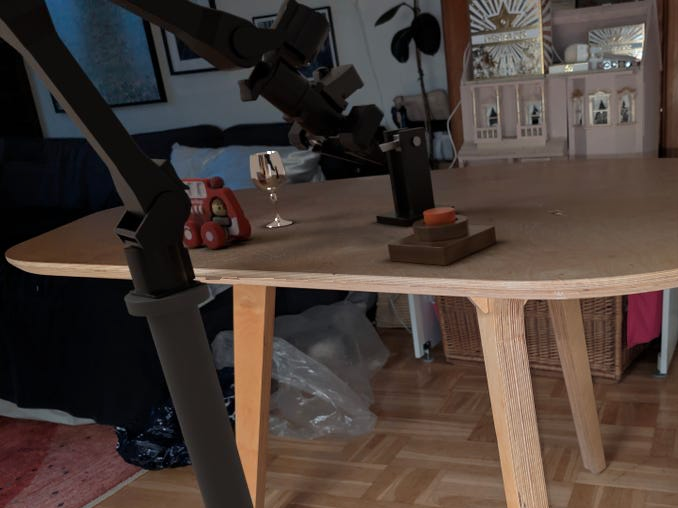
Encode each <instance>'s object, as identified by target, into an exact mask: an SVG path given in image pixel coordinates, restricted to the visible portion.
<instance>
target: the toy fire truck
mask: <svg viewBox="0 0 678 508" xmlns="http://www.w3.org/2000/svg"><path fill="white" fill-rule="evenodd" d="M180 179H181V181H182V182H183V183H184V184H186V185H187V186H189V187H190V190H185V191H186V192H187V194H188V195H189V197H190V199H191V203H192V207H191V214H190V217H189V219H188V221H187V222H186V223H185V226H184V238H183V244H184V245H185V246H187V247H188V248H191V249H193V248H194V249H195V248H198V247H200V246H202V245H203V244H205V246H206V247H208V248H209V249H211V250H217V249H219V248H222V247H224V246H225V245H226V241H227V240H230V239H231V240H232V239H235V240H237V241H244V240H247V239H249V238H250V237H251V235H252V226H251V223H250V220H249V219H248V218H247V217H246V216H245V212H244V210H243V207H242V206H241V204H240V203H239V201H238V199H237V197H236V196H235V194H234V192H233V190H232V189H231V188H230V187H227V186H226V183H225V180H224V178H223V177H221V176H219V175H215V176H213V177H212V178H210V177H185V178H180Z"/></svg>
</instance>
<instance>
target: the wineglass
mask: <svg viewBox="0 0 678 508" xmlns="http://www.w3.org/2000/svg"><path fill="white" fill-rule="evenodd" d="M249 174H250V178H251V181H252V183H253V185H254V186H255V187H256V188H257V189H258V190H260V191H262V192H265V193H266V192H267V193H270V200H271V202H272V204H273V208H274V212H275V220H273V221H272V222H270V223H268V224H266V226H265V227H266V228H279V227H285V226H289V225H291V224H292V223H293V221H292V220H285V219H283V218H281V216H280V214H279V209H278V198H277V197H278V196H277V195H276V192H277V191H279V190H280V189H281V188H283V187H284V186H285V184H286V181H287V170H286V167H285V164H284V161H283V159H282V157H281V155H280V153H279V151H278V150H271V151H263V152H256V153H251V154H249Z"/></svg>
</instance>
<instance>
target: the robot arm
mask: <svg viewBox="0 0 678 508" xmlns="http://www.w3.org/2000/svg"><path fill="white" fill-rule="evenodd" d="M107 1H108V2H109V3H112V4H113V5H115V6H118V7H119V8H121V9H124V10H125V11H127V12H129V13H131V14H133V15H135V16H137V17H139V18H140V19H143V20H145V21H146V22H149V23H151V24H152V25H154V26H157V27H158V28H161V29H163V30H164V31H166V32H168V33H170V34H172V35H174V36H175V37H177V38H178V39H180V40H181V41H182V42H183V43H184V44H185V45H187V47H188V48H190V50H191V51H192V52H193V53H195V54H196V55H197V56H199V57H200V58H201V59H202V60H204V61H206V62H207V63H208V64H209V65H211V66H213V67H214V68H215V69H217V70H219V71H222V72H228V73H229V72H235V71H241V70H247V69H251V68H252V69H251V70H250V72H249V74H248V76H247V77H246V78H243V79H238V80H237V85H238V88H239V96H240V101H241V102H242V103H246V102H247V103H248V102H256V101H257V100H258V99H259V97H260V96H261V97H262V98H263V99H264V100H265V101H267V102H268V103H269V104H270V105H272V106H273V107H274V108H276V110H278V111H279V112H280V113H282V114H283V116H282V117H281V118H282V120H284V122H286V123H287V124H289V123H291V124H292V123H293V124H292V126H291V128H290V130H289V131H288V133H287V136H288V140H289V144H290V145H292V146H293V147H294V148H296V149H297V150H298V151H304V152H305V151H309V149H310V145H311V146H312V147H311V152H312V153H315V154H320V155H324V156H327V157H331V158H336V159H340V160H343V161H348V162H351V163H355V164H359V165H362V166H363V165H365V164H366V163H367V161H369V162H372V163H374V164H377V165H381V166H385V165H386V163H387V162H388V161H387V155H386V154H385V152H383V151H382V150H381V148H380V146H379V145H380V144H379V143H378V141H377V139H376V138H375V135H376V133H377V131H378V129H379V128H380V127H379V126H380V125H381V123H382V121H383V119H384V117H385V112H384V111H383V110H382V109H381V108H380V107H378V105H376V104H375V103H365V104H357V105H352V107H351V108H350V110H349V113H348V114H345V115H344V114H343V112H344V111H346V110H347V108H348V106H349V105H350V104H349V102H348V101H347V99H349V97H351V96H352V95H353V94H355V93H356V91H358V90H361V89H362V88H363V87H364V86H365V82H364V81H363V79H362V78H361V76H360V74H359V73H358V71H357V68H356V67H355V65H354V64H353V63H348V64H342V65H338V66H336V67H332V68H331V69H329V68H328V67H327V66H320V67H317V68H316V69H315V70H313V72H312V79H313V81H311V80H309V79H308V78H307V77H306V76H305V75H304V74H302V73H301V71H299V70H298V69H301V68H302V67H311V66H313V64H314V62H315V60H316V58H317V56H318V54H319V53H320V51H321V49H322V48H323V45H324V43H325V41H326V40H327V38H328V36H329V34H330V32H331V27H332V26H331V25H330V22H329V21H328V19H327V18H326V17H325V16H324V15H323V14H322V13H321V12H320V11H316V10H315V9H313V8H311V7H310V6H308V5H305V4H303V3H300V2H298V1H297V0H283V1H282V3H281V4H280V5H279V8H278V13H277V15H276V16H275V18H274V20H273V22H272V24H271V25H270V27H269V28H264V27H258V26H257V25H256V24H255V23H253V22H252V21H251V20H249V19H247V18H245V17H241V16H240V15H236V14H233V13H230V12H228V11H225V10H221V9H216V8H212V7H209V6H205V5H201V4H198V3H196V2H193V1H192V0H107ZM53 21H54V20H53V18H52V16H51V13H50V10H49V8H48V5H47V2H46V0H0V38H1V39H3V40H4V41H5V42H6V43H8V44H9V45H10V46H11V47H13V48H14V50H16V51H17V52H18V53H19V54H20V55H21V56H22V57H23V58H24V60H25V61H26V62H27V63H28V65H29V66H30V67H31V69H33V71H34V72H35V74H36V75H37V76H38V78H39V79H40V81H42V83H43V84H44V85H45V87H46V88H47V90H48V91H49V92H50V93H51V95H52V96H53V98H55V100H56V101H57V103H58V104H59V105H60V107H61V108H62V110H64V112H65V113H66V115H67V116H68V117H69V118H70V119H71V121H72V122H73V124H74V125H75V126H76V127H77V129H78V130H79V132H81V135H83V137H84V138H85V139H86V141H87V142H88V144H90V146H91V147H92V148H93V150H94V151H95V152H96V153H97V155H98V157H100V159H101V160H102V162H103V163H104V164H105V165H106V167H107V168H108V171H109V173H110V176H111V178H112V181H113V184H114V187H115V189H116V192H117V194H118V196H119V197H120V199H121V201H122V203H123V205H124V207H125V210H124V212H123V213H122V215H121V217H120V218H119V220H118V221H117V223H116V224H115V226H114V228H113V233H114V234H115V235H116V237H117V238H118V239H119V240H120V242H121V243H122V244H123V245H129V246H127V247H124V248H122V251H123V254H124V258H125V261H126V264H127V267H128V270H129V274H130V277H131V280H132V283H133V286H134V289H132V290H129V293H130V295H133V296H139V297H145V298H151V299H160V298H163V297H166V296H169V295H172V294H175V293H178V292H181V291H184V290H187V289H190V288H193V287H196V286H199V285H201V282H202V281H201V280H199V279H198V280H197V279H196V273H195V270H194V266H193V262H192V258H191V254H190V251H189V249H188V248H187V247H186V246H185V243H184V242H183V238H184V226H185V223H186V222H187V221H188V219H189V217H190V214H191V207H192V203H191V199H190V197H189V195H188V194H187V192H186V191H185V190H190V187H189V186H187V185H186V184H184V183H183V182H182V181H181V179H182V178H180V177H179V175H178V173H177V171H176V168H175V166H174V164H173V163H172V162H171V161H170V159H164V158H163V159H161V158H160V159H159V158H150V157H149V156H148V155H146V153H145V152H144V151H142V149H141V148H140V146H139V145H138V144H137V142H136V141H135V139H134V138H133V136H131V134H130V133H129V131H128V130H127V128H126V127H125V126H124V124H123V123H122V122H121V120H120V119H119V118H118V116H117V115H116V113H115V111H113V109H112V108H111V106H110V105H109V104H108V102H107V101H106V99H105V98H104V97H103V95H102V94H101V92H100V91H99V90H98V88H97V87H96V85H95V84H94V83H93V81H92V80H91V79H90V78H89V76H88V74H87V73H86V72H85V70H84V68H82V66H81V65H80V63H79V62H78V61H77V59H76V58H75V56H74V55H73V54H72V52H71V51H70V50H69V48H68V47H67V45H66V44H65V42H64V41H63V40H62V38H61V37H60V35H59V33H58V31H57V29H56V27H55V23H54V22H53ZM264 54H266V56H265V57H264V58H263V56H264ZM262 59H263V60H262ZM309 144H310V145H309ZM352 155H353V156H356V157H359V158H354V157H352Z"/></svg>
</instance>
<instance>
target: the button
mask: <svg viewBox="0 0 678 508" xmlns="http://www.w3.org/2000/svg"><path fill="white" fill-rule="evenodd" d="M454 208H455V207H454ZM454 208H451V207H441V208H434V209H429V210H426V211H424V212H423V215H424V222H425V225H442V224H447V223H452V222H455V221H456V216H455V215H456V209H454Z"/></svg>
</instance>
